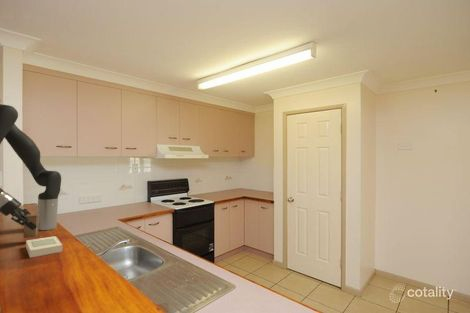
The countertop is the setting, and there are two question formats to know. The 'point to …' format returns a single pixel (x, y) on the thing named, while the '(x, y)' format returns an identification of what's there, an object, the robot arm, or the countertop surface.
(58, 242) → the plinth
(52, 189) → the robot arm
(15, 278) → the countertop surface
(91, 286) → the countertop surface
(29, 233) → the walnut block
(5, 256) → the countertop surface
